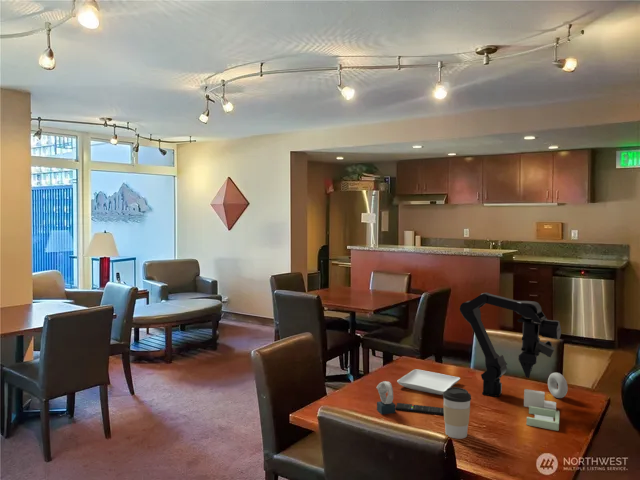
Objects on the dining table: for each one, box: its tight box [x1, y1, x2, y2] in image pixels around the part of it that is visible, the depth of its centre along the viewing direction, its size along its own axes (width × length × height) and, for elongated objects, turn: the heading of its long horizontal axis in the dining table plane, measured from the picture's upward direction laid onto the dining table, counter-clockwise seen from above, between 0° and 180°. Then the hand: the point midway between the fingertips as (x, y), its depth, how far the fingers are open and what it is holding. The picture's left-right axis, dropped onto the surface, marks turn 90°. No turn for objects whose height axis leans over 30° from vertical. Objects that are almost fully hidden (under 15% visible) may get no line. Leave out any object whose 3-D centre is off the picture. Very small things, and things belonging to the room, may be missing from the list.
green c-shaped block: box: [526, 406, 560, 432], centre depth 173 cm, size 10×12×2 cm
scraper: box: [523, 388, 557, 410], centre depth 185 cm, size 11×7×6 cm, turn 63°
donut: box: [547, 372, 569, 399], centre depth 196 cm, size 10×4×10 cm, turn 10°
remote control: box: [395, 402, 444, 416], centre depth 181 cm, size 5×24×1 cm, turn 74°
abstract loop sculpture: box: [376, 380, 397, 415], centre depth 181 cm, size 6×8×11 cm
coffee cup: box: [442, 386, 472, 440], centre depth 162 cm, size 9×9×15 cm
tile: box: [534, 415, 554, 421], centre depth 173 cm, size 6×6×2 cm
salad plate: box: [396, 368, 461, 396], centre depth 209 cm, size 21×21×3 cm
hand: (528, 374), depth 190 cm, fingers open, 9 cm apart
